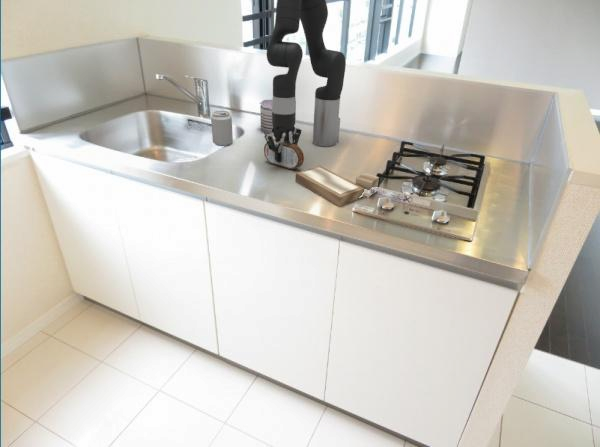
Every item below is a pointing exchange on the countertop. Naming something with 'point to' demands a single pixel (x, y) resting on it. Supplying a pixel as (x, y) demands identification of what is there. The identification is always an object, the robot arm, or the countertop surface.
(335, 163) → the countertop surface
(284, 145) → the tin
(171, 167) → the countertop surface
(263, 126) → the can
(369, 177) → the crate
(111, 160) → the countertop surface
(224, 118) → the can
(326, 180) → the block
